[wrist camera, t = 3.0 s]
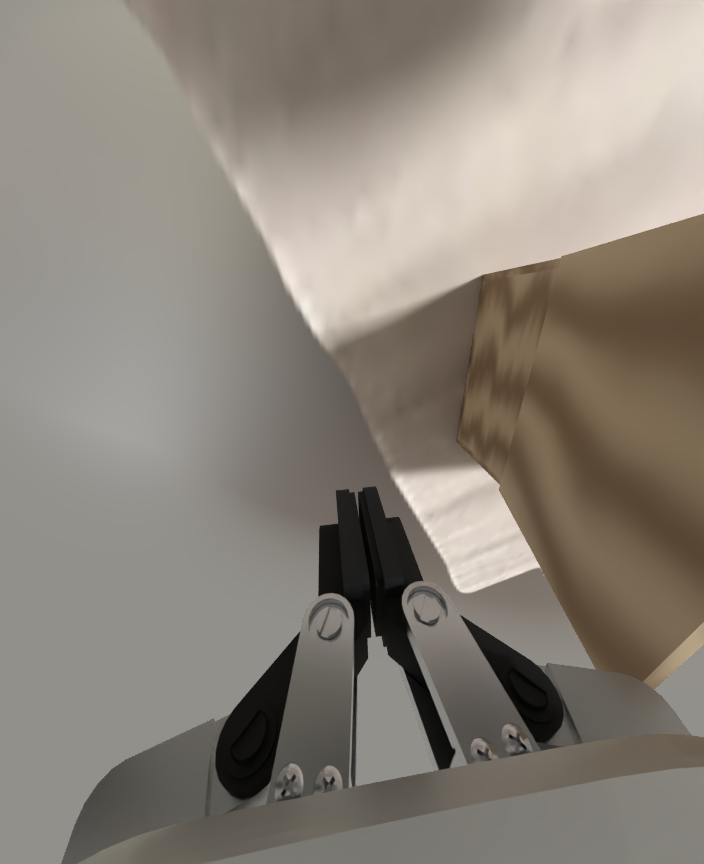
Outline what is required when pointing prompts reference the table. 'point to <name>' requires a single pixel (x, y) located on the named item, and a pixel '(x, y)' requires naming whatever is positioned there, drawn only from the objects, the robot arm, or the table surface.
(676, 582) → the box lid
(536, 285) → the wooden box
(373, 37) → the table surface
